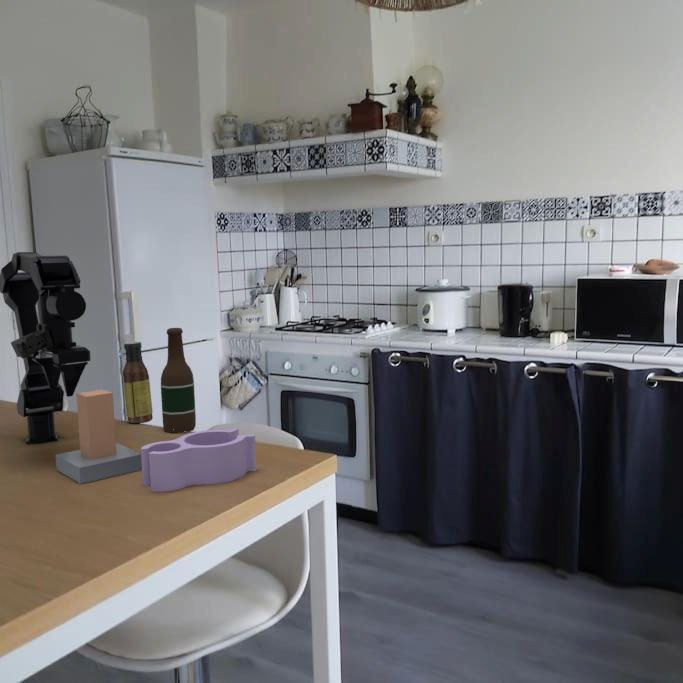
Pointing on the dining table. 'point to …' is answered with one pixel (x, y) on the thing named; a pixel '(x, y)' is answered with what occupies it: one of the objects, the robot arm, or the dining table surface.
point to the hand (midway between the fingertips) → (61, 393)
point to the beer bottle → (177, 388)
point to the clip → (198, 459)
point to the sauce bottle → (136, 385)
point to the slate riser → (98, 464)
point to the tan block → (96, 424)
